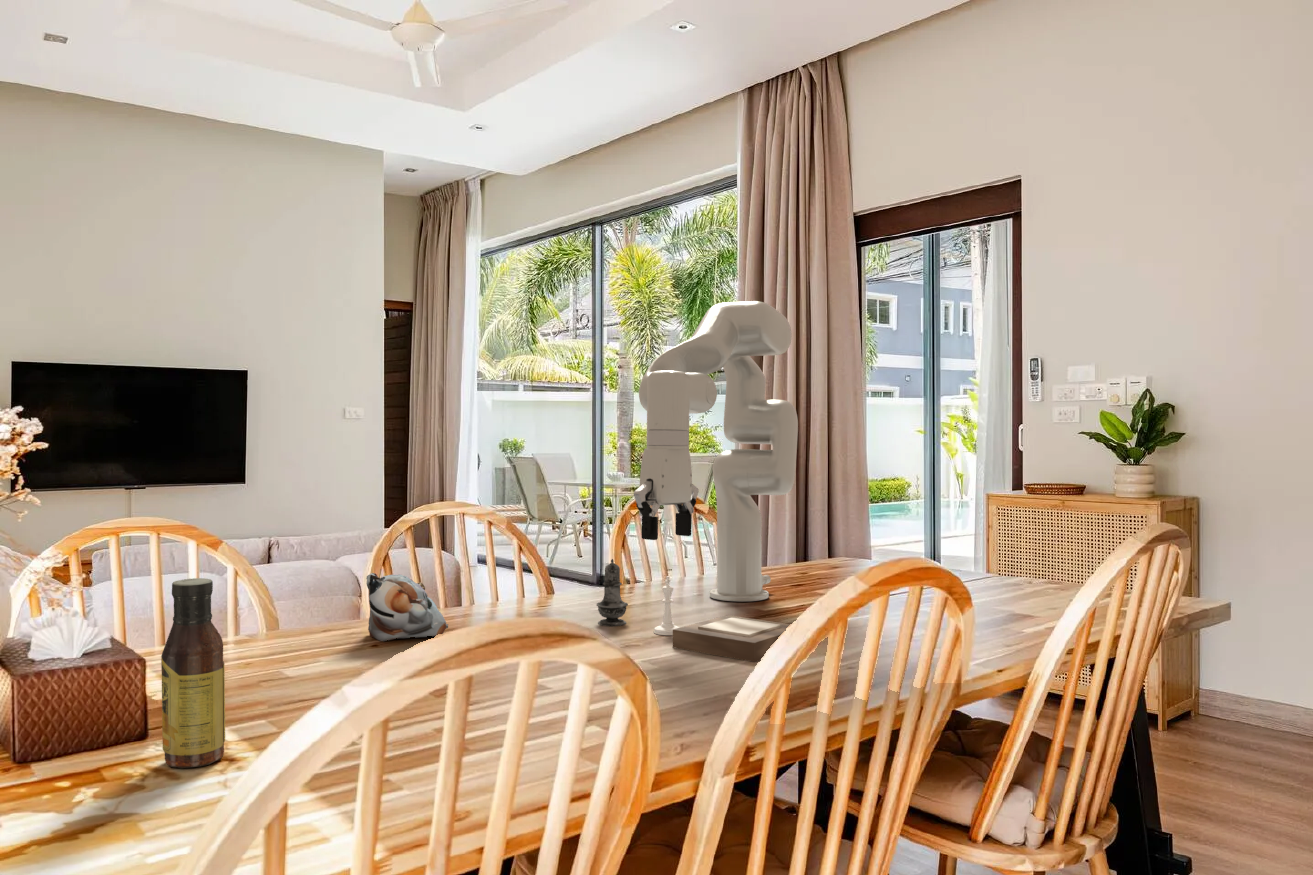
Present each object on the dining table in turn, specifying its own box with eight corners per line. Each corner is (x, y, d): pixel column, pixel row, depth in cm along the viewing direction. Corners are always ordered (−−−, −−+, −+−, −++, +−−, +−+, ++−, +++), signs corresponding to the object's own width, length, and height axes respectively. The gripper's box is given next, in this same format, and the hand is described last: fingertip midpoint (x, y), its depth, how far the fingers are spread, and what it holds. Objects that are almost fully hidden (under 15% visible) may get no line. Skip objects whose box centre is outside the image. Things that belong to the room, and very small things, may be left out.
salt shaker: (629, 620, 187) (630, 556, 187) (625, 626, 182) (626, 561, 181) (598, 619, 188) (599, 556, 188) (593, 626, 182) (594, 560, 182)
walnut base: (727, 631, 177) (727, 612, 177) (805, 644, 167) (805, 624, 167) (672, 647, 165) (672, 626, 165) (754, 661, 155) (754, 640, 155)
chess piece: (684, 630, 178) (685, 575, 178) (676, 636, 174) (676, 579, 174) (658, 628, 180) (659, 573, 180) (649, 634, 175) (650, 577, 175)
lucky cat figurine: (463, 633, 175) (454, 570, 168) (410, 672, 167) (399, 607, 160) (406, 600, 183) (396, 539, 176) (353, 636, 175) (340, 572, 168)
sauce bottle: (176, 752, 112) (175, 575, 111) (233, 750, 112) (233, 575, 112) (151, 772, 105) (150, 585, 105) (212, 771, 106) (212, 584, 105)
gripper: (680, 440, 185) (679, 532, 185) (620, 440, 172) (619, 539, 172) (713, 441, 181) (712, 535, 181) (654, 440, 167) (653, 542, 167)
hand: (666, 537), depth 176 cm, fingers open, 9 cm apart
